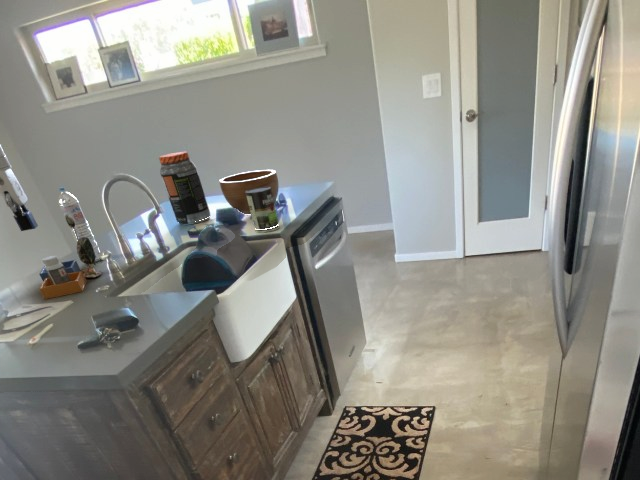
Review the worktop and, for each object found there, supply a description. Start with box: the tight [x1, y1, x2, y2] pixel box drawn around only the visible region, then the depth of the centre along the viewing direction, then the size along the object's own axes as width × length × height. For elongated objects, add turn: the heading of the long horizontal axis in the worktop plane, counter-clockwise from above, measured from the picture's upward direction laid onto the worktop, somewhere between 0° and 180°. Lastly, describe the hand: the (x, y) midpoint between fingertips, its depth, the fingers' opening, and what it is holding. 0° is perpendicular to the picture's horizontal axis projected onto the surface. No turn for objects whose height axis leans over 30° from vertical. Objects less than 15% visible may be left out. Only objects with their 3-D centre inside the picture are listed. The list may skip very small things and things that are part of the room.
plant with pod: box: [64, 215, 103, 278], centre depth 181 cm, size 8×11×20 cm
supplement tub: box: [158, 151, 211, 226], centre depth 230 cm, size 16×16×26 cm
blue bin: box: [38, 259, 81, 282], centre depth 190 cm, size 11×11×4 cm
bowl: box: [219, 169, 280, 215], centre depth 228 cm, size 25×25×15 cm
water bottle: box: [57, 186, 102, 263], centre depth 196 cm, size 7×7×25 cm
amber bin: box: [38, 270, 87, 300], centre depth 176 cm, size 12×12×4 cm
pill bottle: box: [41, 255, 71, 285], centre depth 174 cm, size 6×6×10 cm
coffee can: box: [245, 187, 280, 234], centre depth 206 cm, size 10×10×14 cm
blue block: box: [12, 210, 39, 232], centre depth 175 cm, size 5×5×5 cm
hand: (29, 227), depth 176 cm, fingers closed on blue block, 4 cm apart
